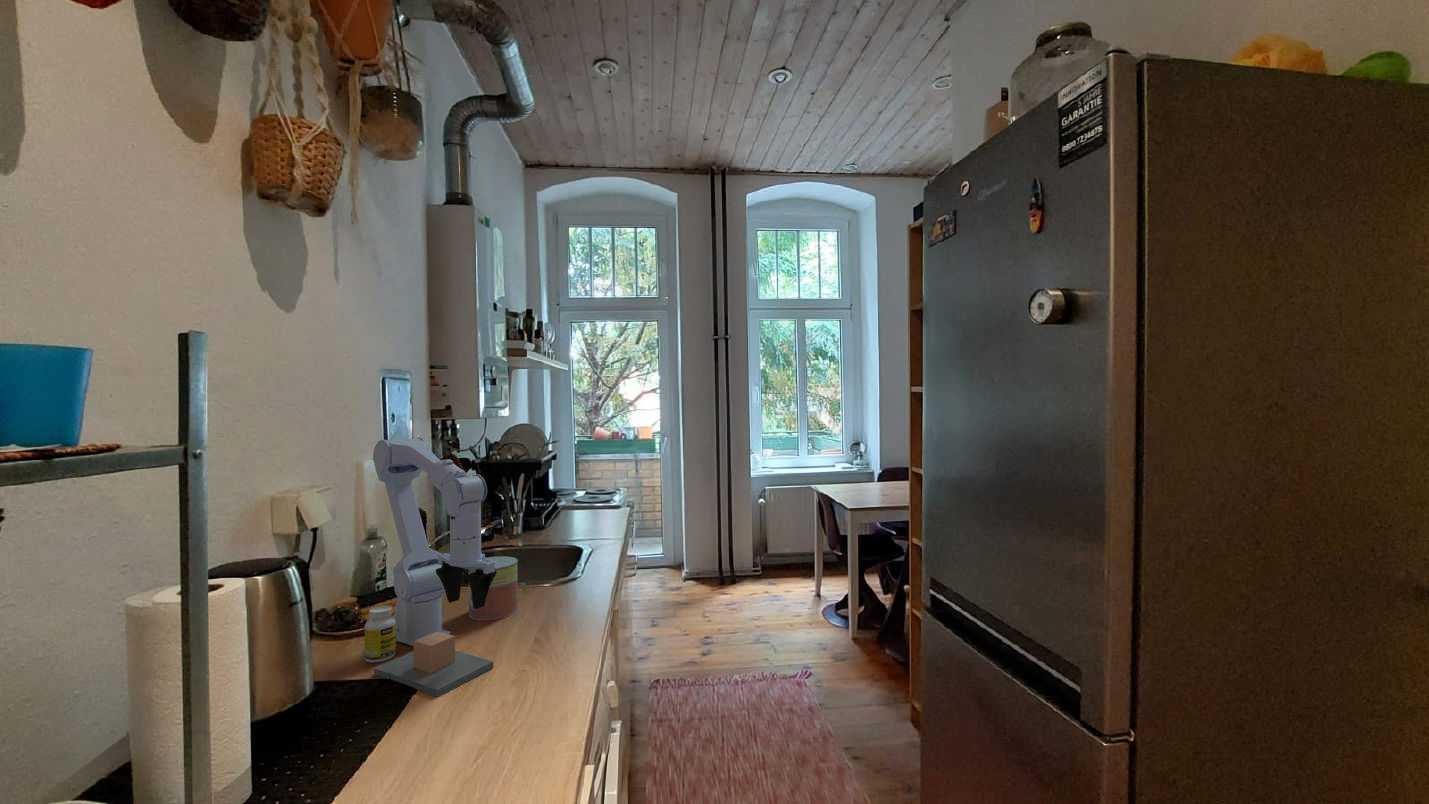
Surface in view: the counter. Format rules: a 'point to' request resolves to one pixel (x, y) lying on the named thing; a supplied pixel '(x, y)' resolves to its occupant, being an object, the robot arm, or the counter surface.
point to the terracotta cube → (434, 652)
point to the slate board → (434, 673)
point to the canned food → (498, 591)
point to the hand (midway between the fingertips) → (466, 604)
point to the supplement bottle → (380, 635)
